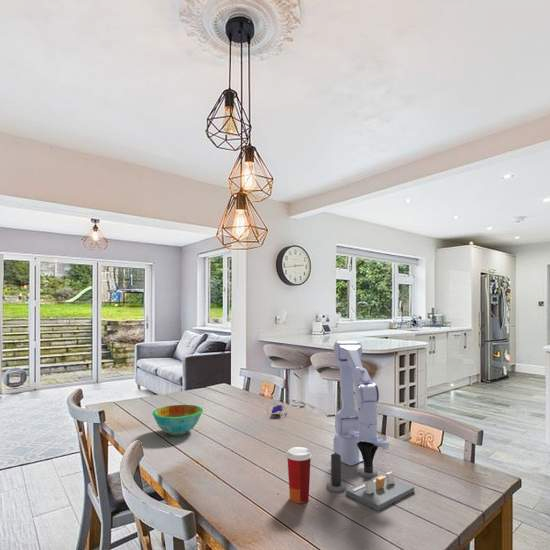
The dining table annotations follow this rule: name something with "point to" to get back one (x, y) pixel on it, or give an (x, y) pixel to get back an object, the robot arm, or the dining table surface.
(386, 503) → the breaker panel
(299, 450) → the paper cup
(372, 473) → the rubber post
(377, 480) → the block
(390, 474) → the block
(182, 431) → the bowl
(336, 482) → the rubber post
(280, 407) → the game controller
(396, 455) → the dining table surface
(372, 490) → the block
